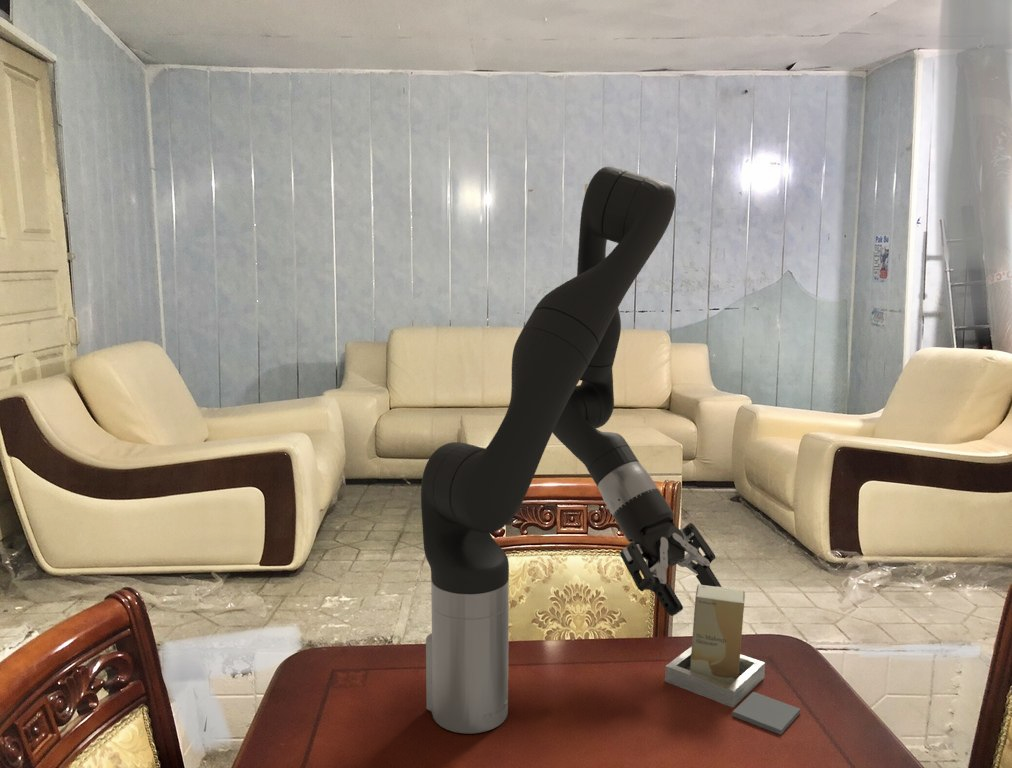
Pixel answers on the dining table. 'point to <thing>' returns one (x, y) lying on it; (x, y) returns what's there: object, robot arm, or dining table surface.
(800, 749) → the dining table surface
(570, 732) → the dining table surface
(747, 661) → the grey square frame
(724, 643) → the skincare box
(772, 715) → the pad
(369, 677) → the dining table surface
